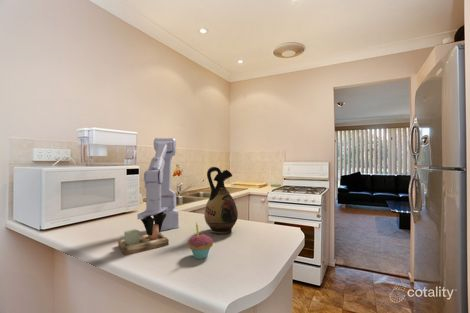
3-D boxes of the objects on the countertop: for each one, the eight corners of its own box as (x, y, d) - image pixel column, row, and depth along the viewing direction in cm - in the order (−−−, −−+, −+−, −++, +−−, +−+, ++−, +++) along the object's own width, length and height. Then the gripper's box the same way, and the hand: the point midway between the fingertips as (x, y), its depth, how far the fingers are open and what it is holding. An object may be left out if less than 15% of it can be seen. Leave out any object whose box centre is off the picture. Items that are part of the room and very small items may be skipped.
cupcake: (201, 263, 74) (201, 225, 74) (182, 257, 78) (182, 222, 78) (217, 254, 81) (217, 219, 81) (199, 249, 86) (199, 216, 86)
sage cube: (134, 241, 91) (134, 228, 91) (139, 244, 88) (139, 230, 88) (124, 244, 88) (124, 231, 88) (129, 247, 85) (129, 233, 85)
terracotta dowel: (153, 235, 95) (153, 223, 95) (160, 236, 93) (160, 224, 94) (145, 238, 92) (145, 225, 92) (153, 239, 90) (153, 226, 90)
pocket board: (159, 237, 99) (159, 232, 99) (168, 244, 90) (168, 239, 90) (118, 245, 90) (118, 240, 90) (124, 255, 81) (124, 248, 81)
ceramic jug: (229, 224, 118) (229, 165, 118) (243, 233, 104) (242, 166, 104) (197, 229, 110) (196, 166, 111) (207, 239, 96) (206, 167, 97)
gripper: (159, 196, 101) (159, 227, 101) (131, 201, 88) (131, 237, 88) (171, 197, 98) (172, 229, 98) (145, 203, 85) (145, 240, 85)
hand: (153, 233), depth 92 cm, fingers closed on terracotta dowel, 4 cm apart
